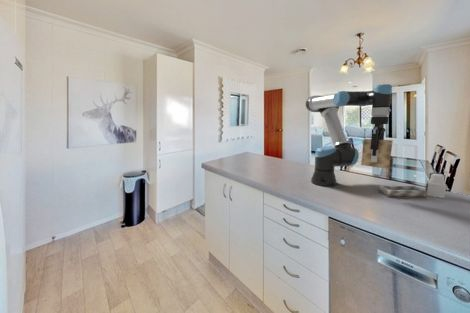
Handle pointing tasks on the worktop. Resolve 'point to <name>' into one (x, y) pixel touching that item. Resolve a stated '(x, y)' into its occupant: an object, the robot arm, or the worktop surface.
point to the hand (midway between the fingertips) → (375, 161)
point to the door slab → (383, 153)
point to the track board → (403, 191)
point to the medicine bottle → (436, 185)
